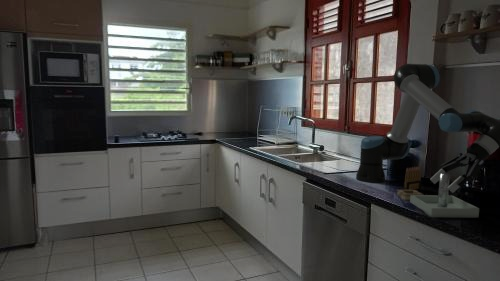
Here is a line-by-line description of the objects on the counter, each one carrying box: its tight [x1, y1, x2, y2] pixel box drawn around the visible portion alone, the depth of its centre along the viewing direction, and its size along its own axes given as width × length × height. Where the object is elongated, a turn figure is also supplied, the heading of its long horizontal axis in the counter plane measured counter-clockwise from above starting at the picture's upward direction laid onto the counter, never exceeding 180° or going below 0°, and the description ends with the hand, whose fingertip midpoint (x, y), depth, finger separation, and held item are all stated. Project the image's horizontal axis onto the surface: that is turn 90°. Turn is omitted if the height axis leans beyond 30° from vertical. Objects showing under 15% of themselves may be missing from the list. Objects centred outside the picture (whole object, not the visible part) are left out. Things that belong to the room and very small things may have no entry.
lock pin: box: [437, 172, 451, 208], centre depth 146 cm, size 4×4×14 cm
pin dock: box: [396, 189, 424, 201], centre depth 162 cm, size 8×8×3 cm
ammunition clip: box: [402, 165, 422, 191], centre depth 175 cm, size 11×2×12 cm, turn 119°
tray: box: [409, 194, 480, 218], centre depth 146 cm, size 18×18×4 cm
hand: (440, 185), depth 145 cm, fingers open, 13 cm apart
